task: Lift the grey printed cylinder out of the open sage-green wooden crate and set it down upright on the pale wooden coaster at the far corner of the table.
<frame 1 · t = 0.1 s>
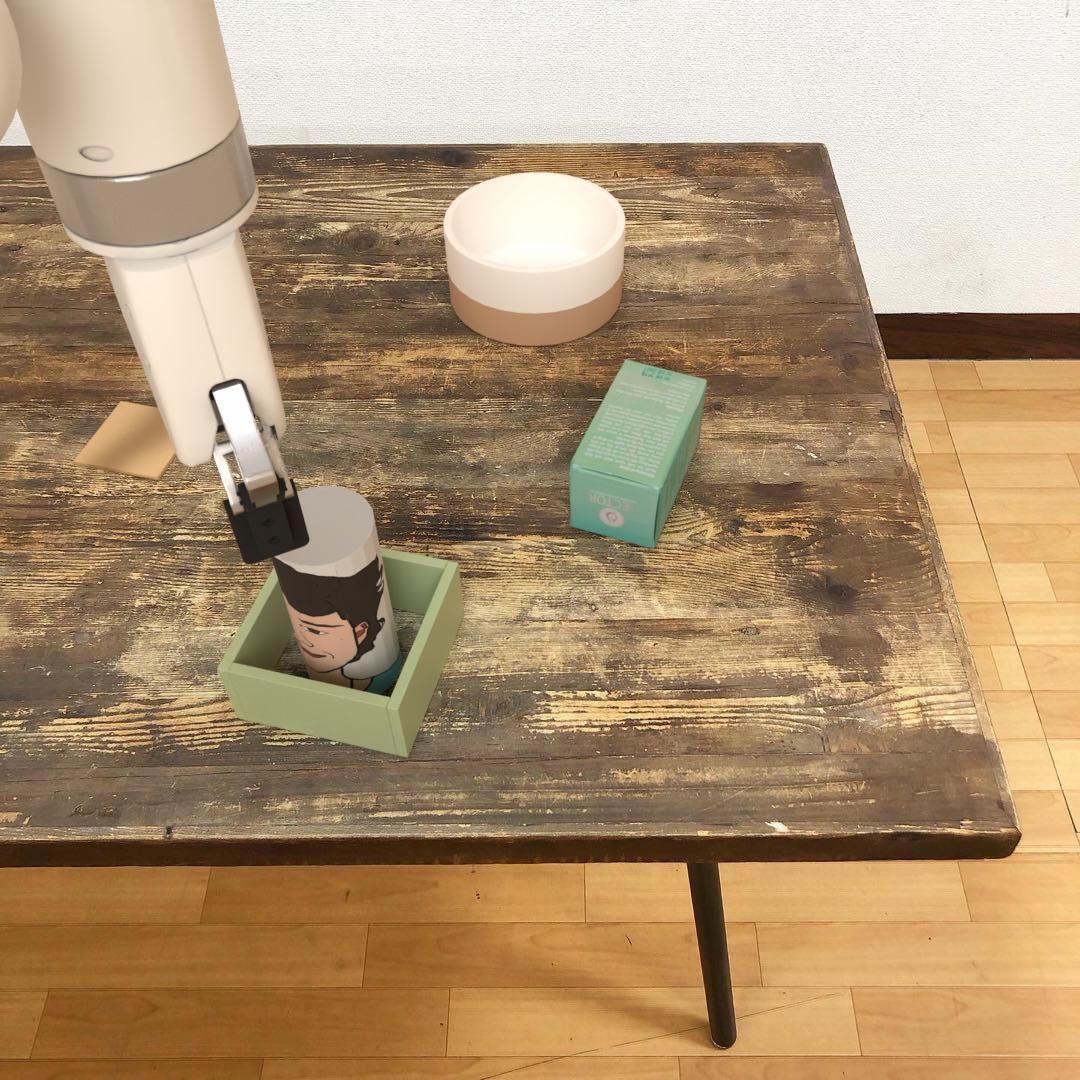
hand: (250, 485, 54), 25 cm above the table, tool pointing down, fingers open, 9 cm apart
bowl: (536, 294, 107), on the table
crate: (355, 664, 77), on the table
box: (635, 487, 89), on the table
grey printed cylinder: (355, 665, 77), resting in crate
coaster: (139, 440, 93), on the table
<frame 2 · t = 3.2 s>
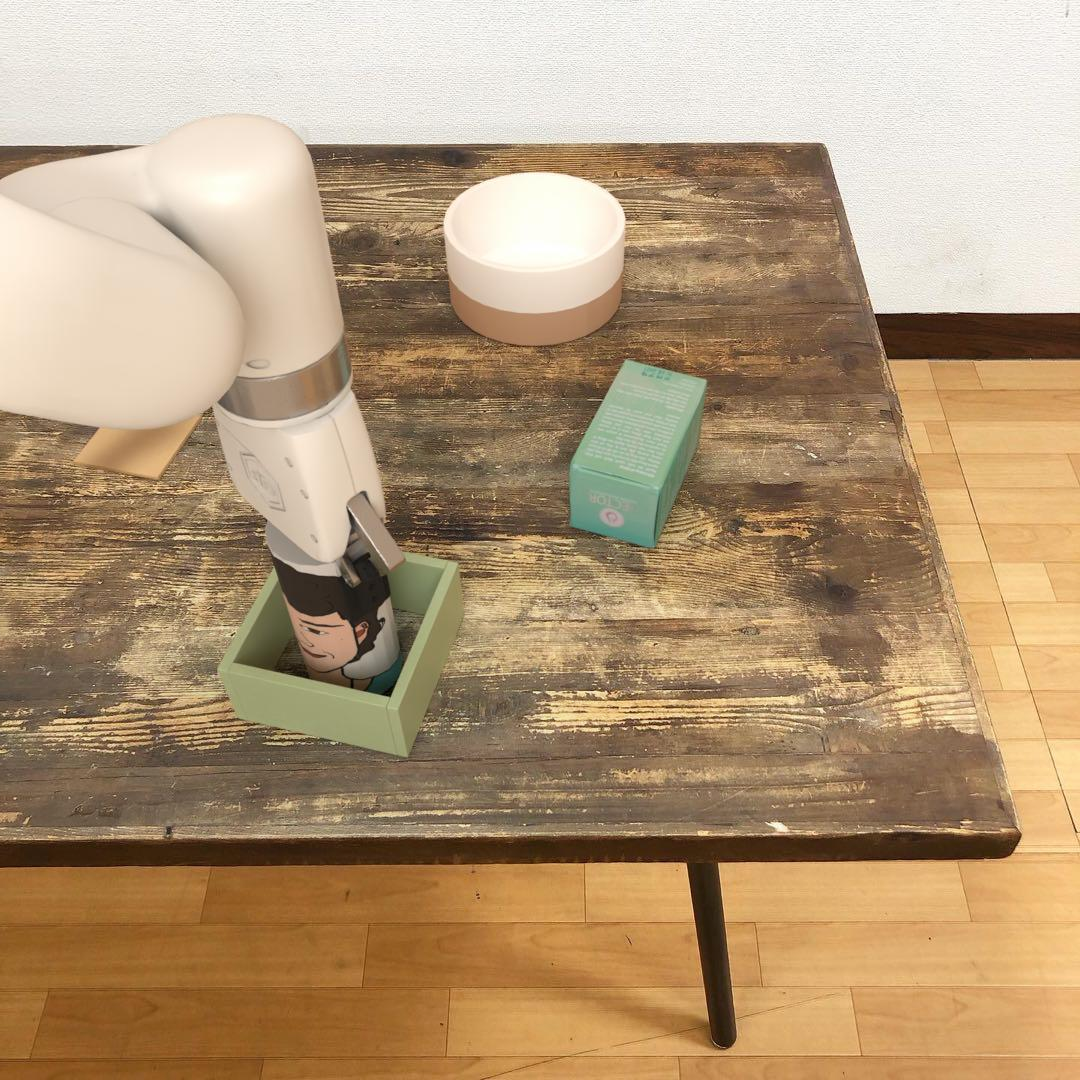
hand: (332, 574, 70), 10 cm above the table, tool pointing down, fingers closed on grey printed cylinder, 6 cm apart
grey printed cylinder: (355, 666, 77), resting in crate, touching gripper
everything else where it was.
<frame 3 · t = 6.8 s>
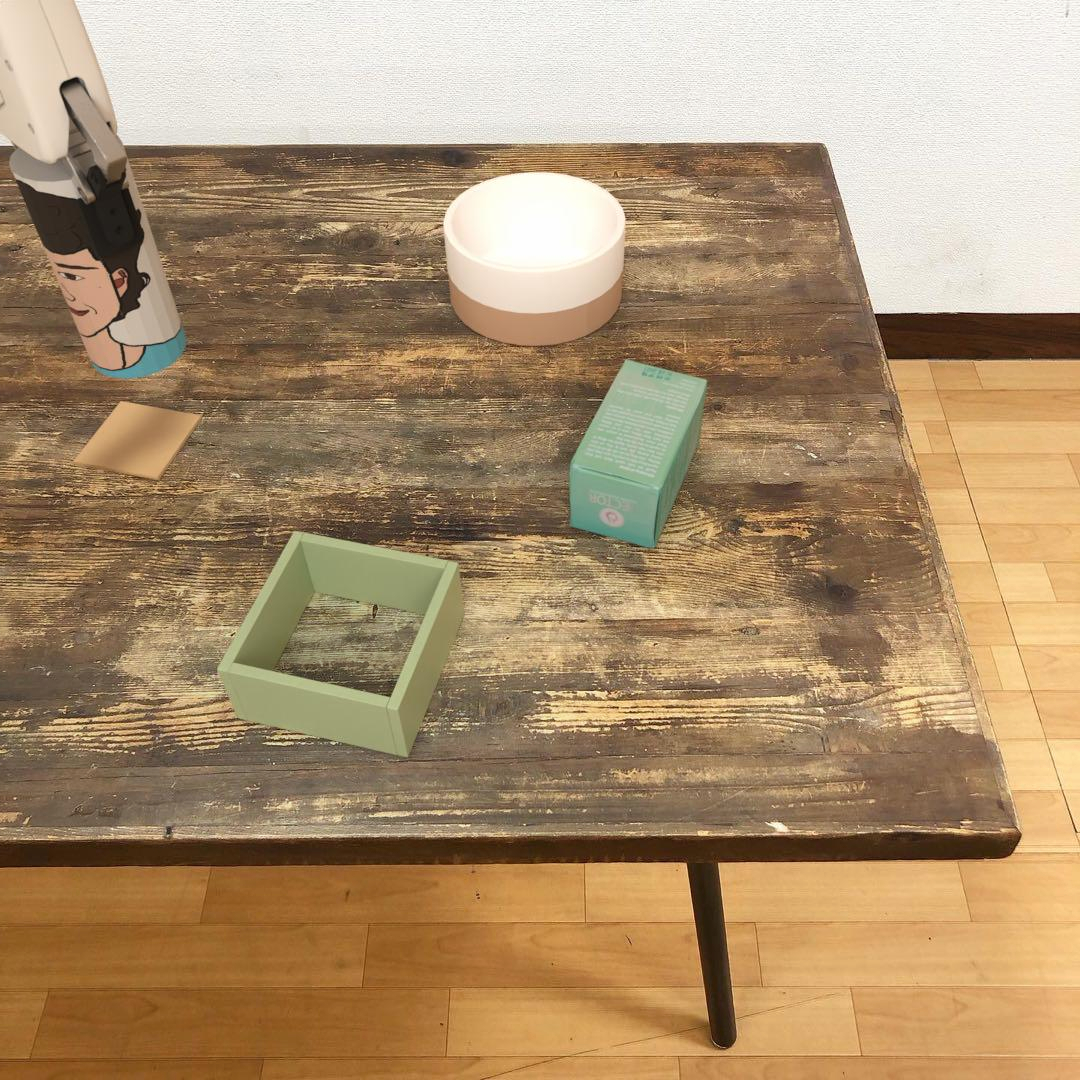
hand: (91, 223, 69), 26 cm above the table, tool pointing down, fingers closed on grey printed cylinder, 6 cm apart
grey printed cylinder: (139, 350, 77), point 15 cm above the table, touching gripper
everything else where it was.
when the fingers open (11 cm above the table, at t = 10.5 s): grey printed cylinder stays where it is, resting on coaster.
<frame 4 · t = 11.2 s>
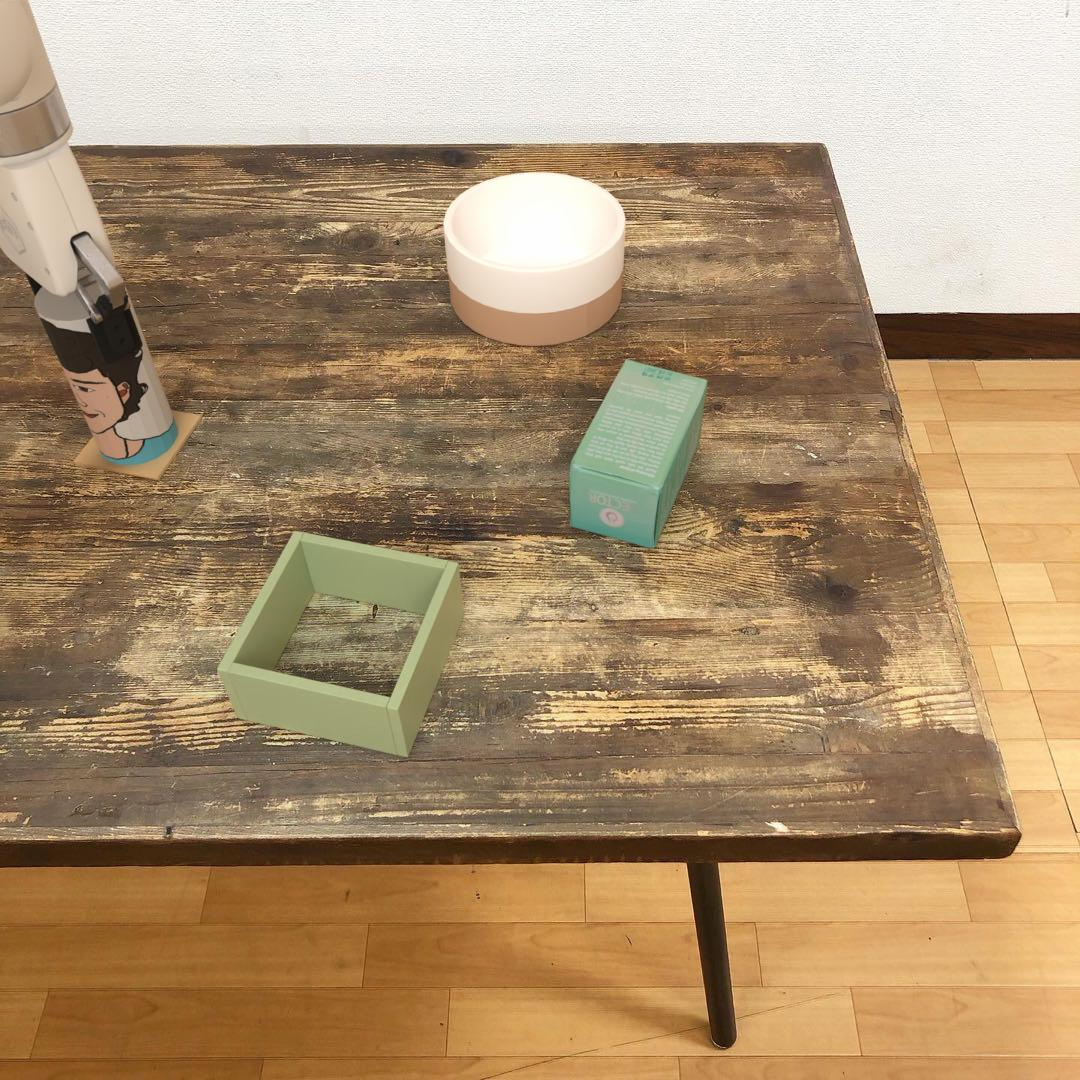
hand: (91, 328, 84), 12 cm above the table, tool pointing down, fingers open, 9 cm apart
grey printed cylinder: (139, 439, 93), resting on coaster
everything else where it was.
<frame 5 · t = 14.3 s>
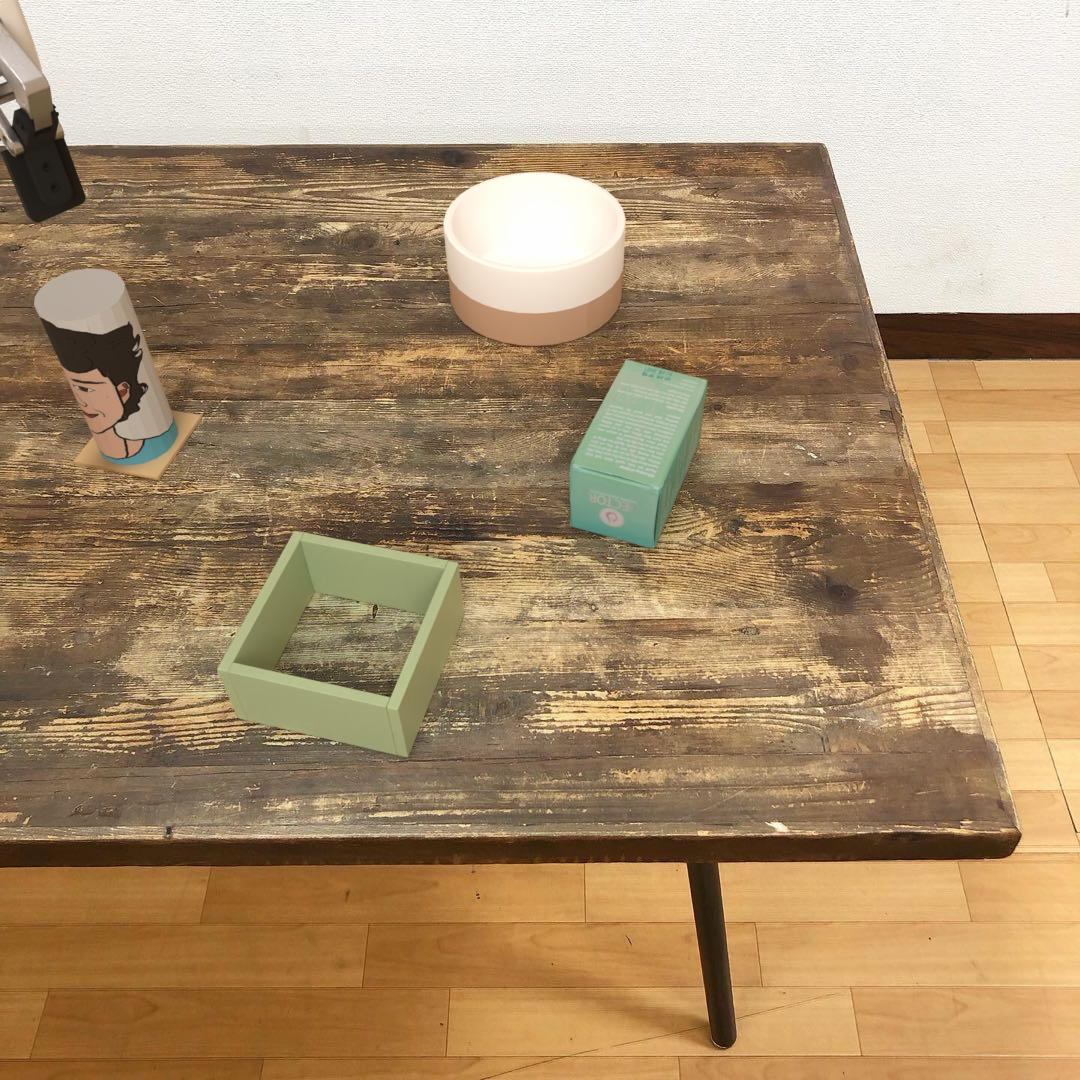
hand: (16, 178, 60), 32 cm above the table, tool pointing down, fingers open, 9 cm apart
nothing on the table moved.
at the end: grey printed cylinder 0.1 cm off-centre on the coaster, point 0.2 cm above the coaster's base; grey printed cylinder tilted 0°; the gripper is holding nothing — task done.
